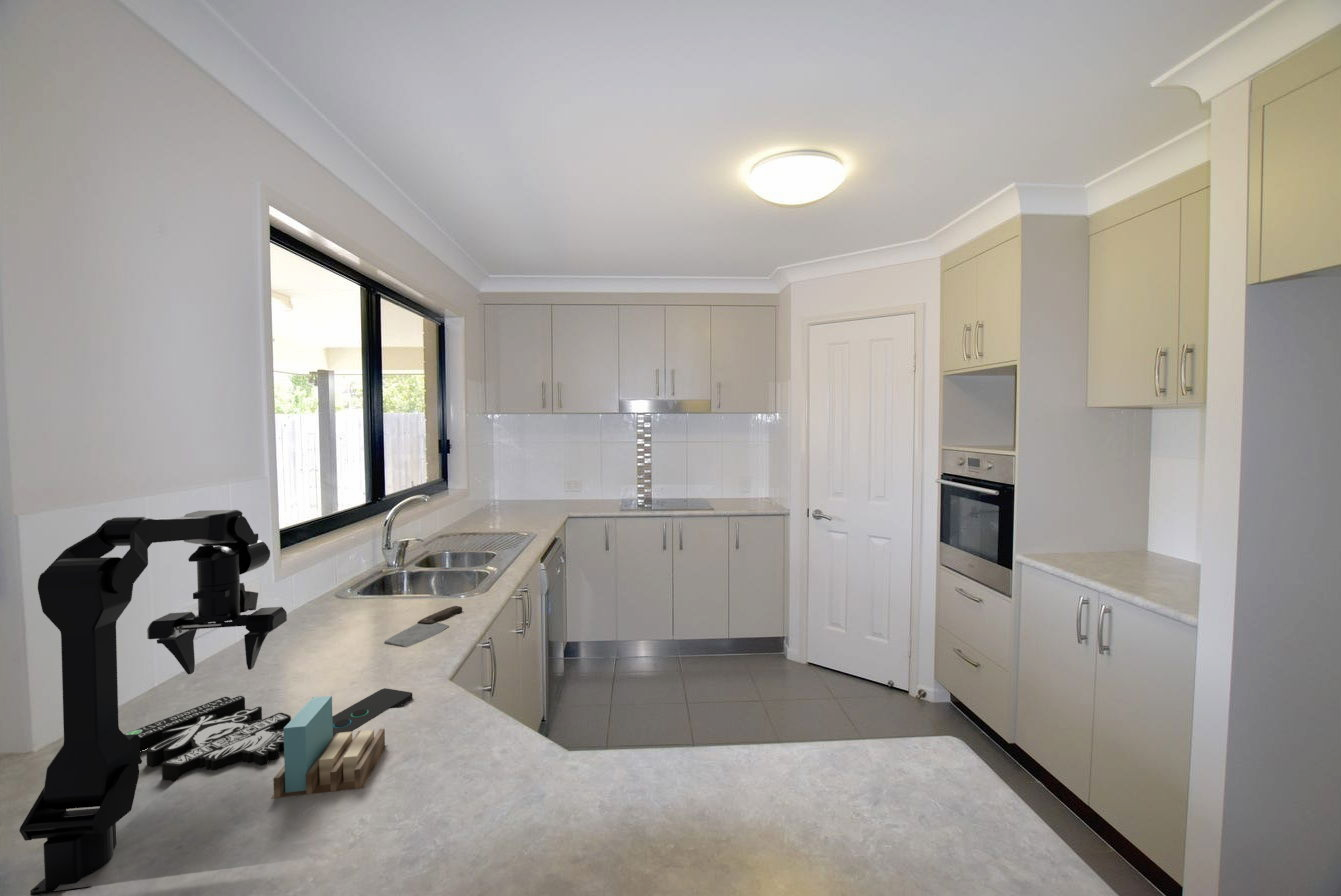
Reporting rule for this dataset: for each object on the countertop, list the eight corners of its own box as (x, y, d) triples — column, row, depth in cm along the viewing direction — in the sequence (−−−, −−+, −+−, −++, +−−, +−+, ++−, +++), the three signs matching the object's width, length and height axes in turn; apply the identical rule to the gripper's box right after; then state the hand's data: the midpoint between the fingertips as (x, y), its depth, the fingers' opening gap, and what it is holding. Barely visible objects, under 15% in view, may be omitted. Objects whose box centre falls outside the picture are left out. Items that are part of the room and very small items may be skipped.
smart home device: (295, 735, 102) (383, 687, 121) (295, 744, 102) (383, 695, 121) (330, 742, 99) (414, 692, 118) (331, 752, 99) (414, 700, 118)
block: (306, 790, 86) (305, 726, 86) (285, 792, 86) (283, 728, 85) (333, 753, 96) (331, 695, 96) (314, 755, 96) (312, 697, 95)
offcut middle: (333, 783, 88) (333, 758, 88) (319, 785, 88) (319, 759, 87) (352, 754, 96) (352, 731, 96) (339, 755, 95) (339, 732, 95)
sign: (233, 693, 115) (325, 726, 102) (234, 707, 115) (325, 743, 102) (109, 739, 98) (199, 786, 85) (109, 756, 98) (200, 806, 85)
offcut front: (357, 781, 89) (356, 756, 88) (343, 782, 88) (342, 757, 88) (374, 752, 96) (373, 729, 96) (361, 753, 96) (361, 730, 96)
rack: (363, 794, 87) (362, 768, 87) (271, 804, 85) (270, 778, 84) (387, 750, 99) (387, 728, 99) (307, 758, 96) (306, 735, 96)
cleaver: (448, 611, 176) (448, 604, 176) (476, 613, 174) (476, 606, 174) (380, 647, 148) (379, 639, 147) (412, 650, 145) (412, 642, 145)
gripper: (299, 568, 108) (301, 649, 108) (187, 573, 104) (189, 657, 104) (270, 583, 97) (272, 673, 97) (143, 590, 93) (146, 683, 93)
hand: (221, 671), depth 98 cm, fingers open, 9 cm apart
